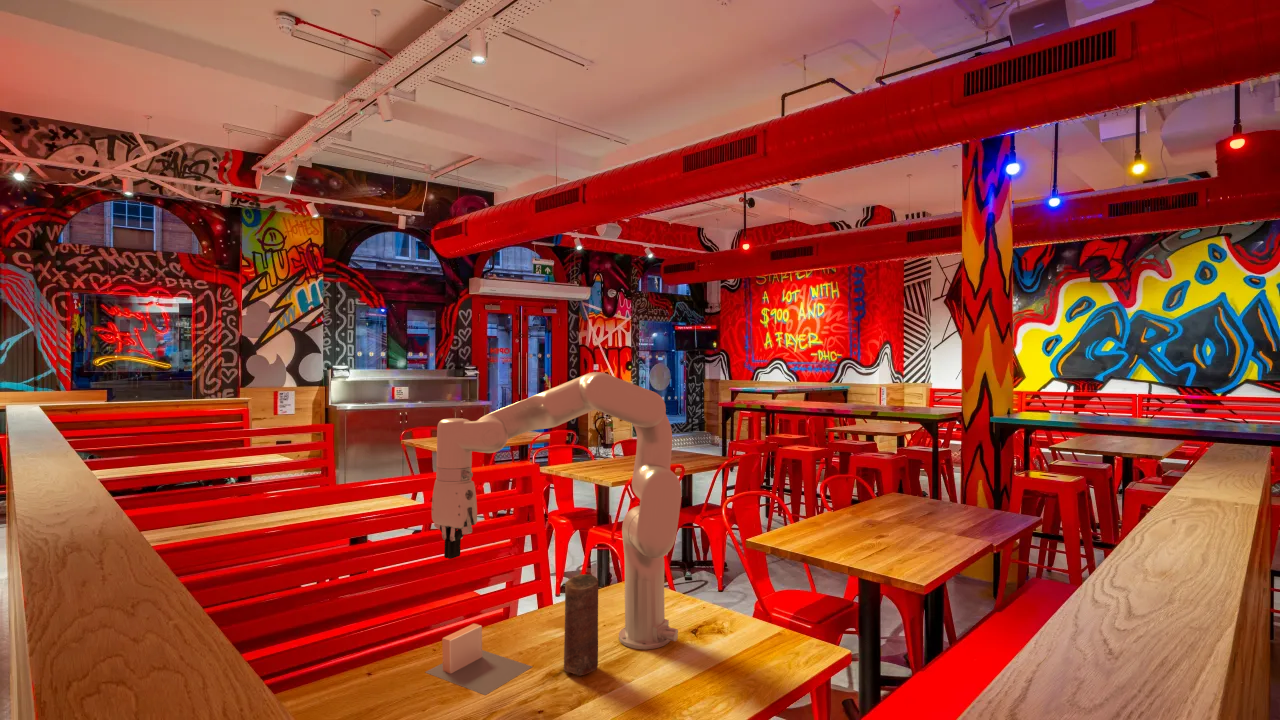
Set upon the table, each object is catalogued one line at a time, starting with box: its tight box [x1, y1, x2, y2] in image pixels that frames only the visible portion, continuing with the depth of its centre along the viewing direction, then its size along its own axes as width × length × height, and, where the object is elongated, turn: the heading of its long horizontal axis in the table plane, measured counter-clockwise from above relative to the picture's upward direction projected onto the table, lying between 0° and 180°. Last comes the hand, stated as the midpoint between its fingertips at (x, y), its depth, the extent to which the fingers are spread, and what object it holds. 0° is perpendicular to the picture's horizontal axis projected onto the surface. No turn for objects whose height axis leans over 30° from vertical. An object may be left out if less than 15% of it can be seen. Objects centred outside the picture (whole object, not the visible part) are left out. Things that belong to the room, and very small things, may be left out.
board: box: [424, 649, 533, 696], centre depth 143 cm, size 18×14×1 cm
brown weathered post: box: [563, 573, 599, 677], centre depth 144 cm, size 8×7×20 cm
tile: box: [441, 623, 483, 673], centre depth 146 cm, size 2×9×7 cm, turn 147°
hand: (452, 556), depth 148 cm, fingers closed
